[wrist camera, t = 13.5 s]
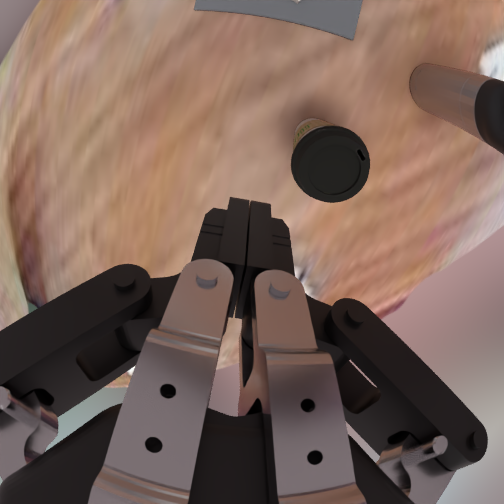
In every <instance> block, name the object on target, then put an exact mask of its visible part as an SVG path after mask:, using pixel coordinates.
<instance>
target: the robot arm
mask: <svg viewBox="0 0 504 504" xmlns="http://www.w3.org/2000/svg"><path fill="white" fill-rule="evenodd" d="M410 90H411V94H412V97H413V99H414V101H415V102H416V104H417V105H418V106H419V107H420V108H422V109H423V110H425V111H427V112H429V113H431V114H433V115H435V116H437V117H439V118H441V119H444V120H446V121H448V122H450V123H452V124H453V125H455V126H457V127H459V128H461V129H463V130H465V131H466V132H468V133H470V134H472V135H474V136H475V137H477V138H479V139H481V140H482V141H484V142H485V143H487V144H489V145H490V146H492V147H493V148H495V149H496V150H498V151H499V152H501V153H502V154H504V81H501V80H498V79H494V78H491V77H488V76H484V75H480V74H476V73H472V72H468V71H464V70H460V69H455V68H450V67H445V66H439V65H433V64H422V65H420V66H418V67H417V68H416V69H415V70H414V72H413V73H412V76H411V79H410ZM235 306H236V310H235ZM234 310H235V318H239V319H242V329H241V333H240V336H239V371H240V396H239V403H238V417H233V416H229V415H226V414H223V413H220V412H218V411H215V410H212V409H210V408H208V406H209V401H210V395H211V391H212V386H213V381H214V376H215V371H216V366H217V361H218V356H219V352H220V347H221V342H222V337H223V335H224V334H225V332H226V327H227V323H228V318H229V317H231V318H233V314H234ZM349 360H351V361H352V362H353V363H354V364H355V365H356V366H357V367H358V368H359V369H360V370H361V371H362V372H363V373H364V374H365V375H366V376H367V377H368V378H369V379H370V380H371V381H372V382H373V383H374V384H375V385H376V386H377V387H375V386H373V385H372V384H371V383H370V382H369V381H368V380H367V379H366V378H365V377H364V376H363V375H362V374H361V373H360V372H359V371H358V370H357V369H356V368H355V367H354V365H352V363H351V362H350V361H349ZM135 365H136V366H135ZM134 366H135V369H134V372H133V375H132V377H131V380H130V383H129V386H128V389H127V392H126V394H125V397H124V401H123V403H121V404H118V405H115V406H112V407H110V408H108V409H106V410H104V411H102V412H101V413H99V414H98V415H97V416H95V417H93V418H92V419H91V420H90V421H88V422H87V423H85V424H84V425H83V426H81V427H80V428H78V429H77V430H76V431H74V432H73V433H71V434H70V435H69V436H67V437H66V438H64V439H63V440H61V441H60V442H59V443H57V444H56V445H54V446H53V447H52V448H50V449H49V450H47V451H46V452H45V450H46V447H47V446H48V445H49V444H50V443H51V442H52V441H53V440H54V439H55V437H56V436H57V434H58V419H57V417H59V416H60V415H62V414H64V413H65V412H67V411H68V410H70V409H71V408H73V407H74V406H76V405H77V404H79V403H80V402H82V401H83V400H85V399H87V398H88V397H90V396H91V395H93V394H94V393H96V392H97V391H99V390H100V389H102V388H103V387H104V386H106V385H107V384H109V383H110V382H112V381H113V380H115V379H116V378H118V377H119V376H121V375H122V374H124V373H125V372H127V371H128V370H130V369H131V368H132V367H134ZM345 421H346V422H347V423H348V424H349V425H350V426H351V427H352V428H353V429H354V430H355V431H356V432H357V433H358V434H359V435H360V436H361V437H362V438H363V439H364V440H365V441H366V442H367V443H368V444H369V446H370V447H371V448H372V449H373V450H375V452H376V453H377V454H378V455H379V456H380V459H379V460H378V461H377V462H376V463H375V462H374V461H373V460H372V459H371V458H370V457H369V455H368V454H367V453H366V452H365V451H364V450H363V449H362V448H361V447H360V446H359V445H358V443H357V442H356V441H355V440H354V439H353V438H352V437H351V436H349V435H348V433H347V427H346V422H345ZM487 443H488V437H487V432H486V430H485V427H484V426H483V424H482V423H481V422H480V421H479V420H478V419H477V418H476V417H475V415H474V414H473V413H472V412H471V411H470V410H469V409H468V408H467V407H466V406H465V405H464V403H463V402H462V401H461V400H460V399H459V398H458V397H457V396H456V395H455V394H454V393H453V392H452V391H451V389H449V387H448V386H447V385H446V384H445V383H444V382H443V381H442V380H441V379H440V378H439V377H438V376H437V375H436V374H435V373H434V372H433V371H432V370H431V369H430V368H429V367H428V366H427V365H426V364H425V363H424V362H423V361H422V360H421V359H420V358H419V357H418V356H417V355H416V354H415V353H414V352H413V351H412V350H411V349H410V348H409V347H408V346H407V345H406V344H405V343H404V342H403V341H402V340H401V339H400V338H399V337H398V336H397V335H396V334H395V333H394V332H393V331H392V330H391V329H390V328H389V327H388V326H387V325H386V324H385V323H384V322H383V321H382V320H381V319H380V318H378V317H377V316H376V315H375V314H374V313H373V312H372V311H371V310H370V309H369V308H368V307H367V306H366V305H364V304H363V303H361V302H359V301H357V300H355V299H350V298H343V299H340V300H338V301H336V302H335V303H334V304H333V306H330V305H328V304H325V303H323V302H320V301H318V300H315V299H313V298H311V297H310V296H308V295H307V294H306V293H305V291H304V287H303V285H302V284H301V282H300V281H299V280H298V279H297V278H296V277H295V272H294V264H293V256H292V248H291V240H290V233H289V228H288V227H287V225H286V224H285V223H284V221H283V220H282V219H277V218H271V204H268V203H263V202H257V201H251V202H250V206H249V200H245V199H239V198H233V197H230V200H229V205H228V209H227V210H224V209H218V208H213V209H211V210H210V211H209V212H208V213H207V214H205V217H204V220H203V224H202V227H201V230H200V233H199V236H198V240H197V243H196V246H195V250H194V253H193V256H192V260H191V262H190V263H188V264H187V265H186V266H185V267H184V268H183V270H182V272H181V273H179V274H177V275H174V276H170V277H163V278H150V276H149V274H148V272H147V271H146V270H145V269H143V268H142V267H140V266H137V265H133V264H122V265H118V266H115V267H112V268H111V269H109V270H107V271H105V272H103V273H101V274H99V275H97V276H95V277H93V278H92V279H90V280H88V281H86V282H84V283H82V284H80V285H79V286H77V287H75V288H73V289H71V290H69V291H68V292H66V293H64V294H62V295H60V296H59V297H57V298H55V299H53V300H52V301H50V302H48V303H46V304H45V305H43V306H41V307H39V308H38V309H36V310H34V311H33V312H31V313H29V314H28V315H26V316H24V317H23V318H21V319H19V320H18V321H16V322H14V323H13V324H11V325H9V326H8V327H6V328H5V329H3V330H1V331H0V476H1V478H2V480H3V482H2V484H1V485H0V504H436V502H437V501H438V500H439V498H440V496H441V495H442V493H443V492H444V490H445V488H446V487H447V485H448V484H449V482H450V480H451V478H452V477H453V475H454V473H455V472H456V470H458V469H460V468H463V467H466V466H468V465H471V464H473V463H475V462H477V461H479V460H481V458H482V457H483V456H484V454H485V452H486V449H487Z"/></svg>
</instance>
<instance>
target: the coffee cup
mask: <svg viewBox="0 0 504 504" xmlns="http://www.w3.org/2000/svg"><path fill="white" fill-rule="evenodd" d="M369 169H370V158H369V153H368V150H367V148H366V146H365V144H364V142H363V141H362V140H361V138H360V137H359V136H358V135H356V134H355V133H354V132H352V131H351V130H349V129H346V128H343V127H340V126H336V125H333V124H331V123H329V122H327V121H323V120H320V119H317V118H309V119H306V120H304V121H302V122H301V123H300V124H299V125H298V126H297V128H296V130H295V134H294V143H293V154H292V159H291V170H292V174H293V177H294V180H295V181H296V183H297V185H298V186H299V187H300V188H301V189H302V190H303V192H305V193H306V194H307V195H309V196H310V197H313V198H315V199H317V200H320V201H324V202H330V203H335V202H341V201H345V200H347V199H349V198H351V197H353V196H354V195H356V194H357V193H358V192H359V191H360V190H361V189H362V188H363V186H364V185H365V183H366V181H367V178H368V174H369Z"/></svg>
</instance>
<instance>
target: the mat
mask: <svg viewBox="0 0 504 504" xmlns="http://www.w3.org/2000/svg"><path fill="white" fill-rule="evenodd" d="M362 1H363V0H301V1H300V2H299V3H298V4H297V3H295V2H294V1H292V0H196V2H195V7H194V10H203V11H220V12H231V13H240V14H248V15H255V16H261V17H267V18H273V19H278V20H283V21H288V22H292V23H296V24H300V25H304V26H308V27H312V28H316V29H319V30H323V31H326V32H329V33H332V34H335V35H338V36H341V37H344V38H347V39H350V40H353V39H354V35H355V30H356V26H357V22H358V18H359V14H360V9H361V5H362Z"/></svg>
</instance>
